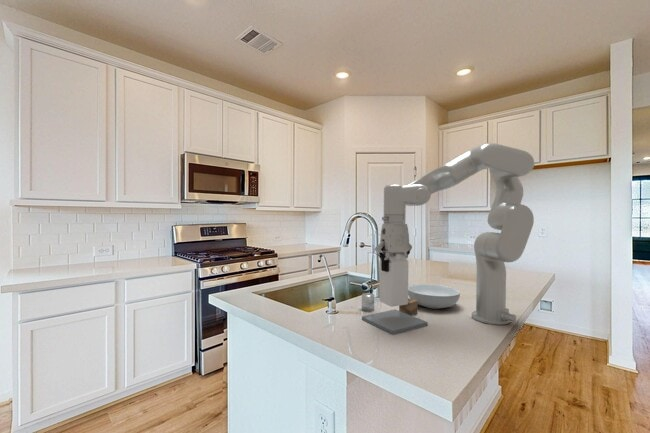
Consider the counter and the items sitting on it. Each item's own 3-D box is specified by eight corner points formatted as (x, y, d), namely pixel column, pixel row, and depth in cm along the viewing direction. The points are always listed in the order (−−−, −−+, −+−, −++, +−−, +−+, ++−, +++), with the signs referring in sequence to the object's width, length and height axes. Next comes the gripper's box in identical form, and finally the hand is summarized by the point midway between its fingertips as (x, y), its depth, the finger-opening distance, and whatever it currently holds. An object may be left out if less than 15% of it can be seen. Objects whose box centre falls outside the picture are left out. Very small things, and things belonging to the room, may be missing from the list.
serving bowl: (465, 315, 119) (465, 297, 118) (408, 311, 123) (408, 294, 123) (454, 300, 139) (454, 284, 139) (405, 297, 143) (405, 282, 143)
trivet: (427, 325, 108) (427, 322, 108) (392, 334, 100) (392, 330, 100) (395, 312, 122) (395, 309, 122) (362, 319, 114) (362, 316, 114)
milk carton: (379, 301, 112) (379, 248, 112) (395, 299, 115) (395, 248, 115) (391, 307, 106) (392, 251, 106) (408, 304, 109) (408, 250, 109)
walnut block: (417, 313, 121) (417, 300, 121) (410, 316, 118) (410, 303, 117) (405, 310, 125) (406, 297, 125) (399, 313, 121) (399, 300, 121)
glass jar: (376, 310, 124) (377, 295, 124) (366, 312, 122) (366, 297, 122) (369, 307, 128) (369, 292, 128) (359, 309, 126) (359, 294, 126)
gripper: (382, 220, 102) (381, 274, 103) (420, 220, 111) (419, 269, 111) (368, 219, 109) (367, 270, 109) (404, 219, 118) (404, 266, 118)
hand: (393, 269), depth 110 cm, fingers closed on milk carton, 7 cm apart
